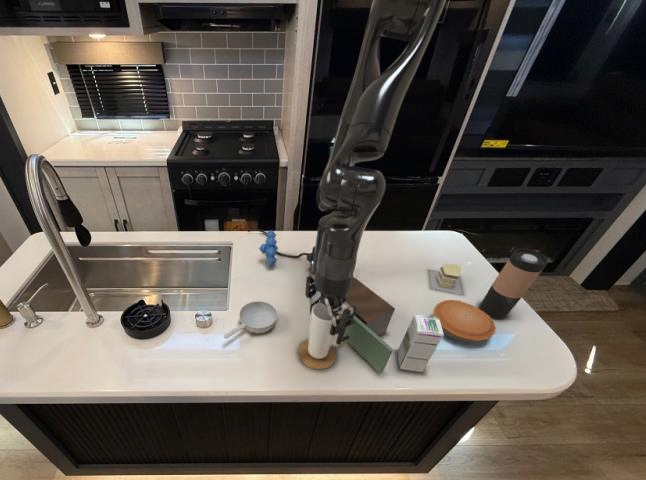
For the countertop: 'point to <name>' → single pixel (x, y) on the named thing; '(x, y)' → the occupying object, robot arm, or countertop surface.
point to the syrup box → (419, 342)
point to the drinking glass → (320, 331)
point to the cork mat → (315, 362)
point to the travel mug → (513, 282)
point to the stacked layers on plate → (446, 278)
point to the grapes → (270, 248)
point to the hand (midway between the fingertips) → (323, 323)
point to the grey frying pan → (256, 318)
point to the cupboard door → (366, 344)
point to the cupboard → (369, 307)
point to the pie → (464, 321)
